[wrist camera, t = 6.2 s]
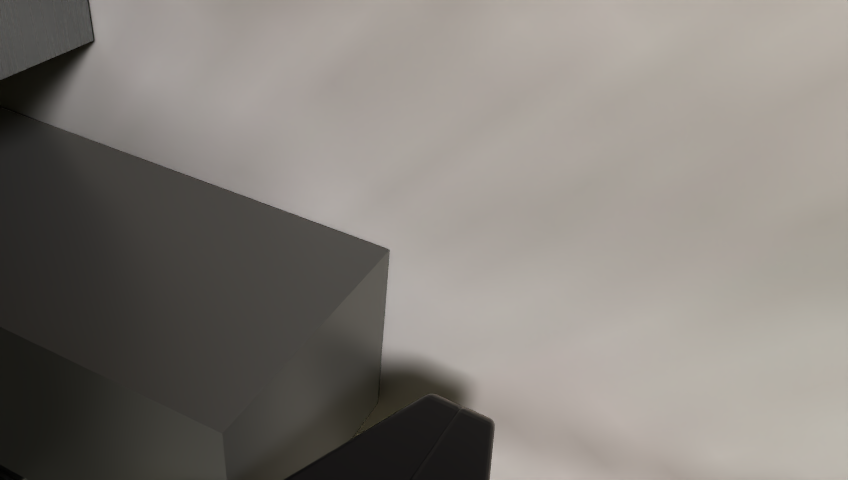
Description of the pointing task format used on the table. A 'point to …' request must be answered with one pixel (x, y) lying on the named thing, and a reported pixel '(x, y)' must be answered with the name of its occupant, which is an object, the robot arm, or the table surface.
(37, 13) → the grey arch block
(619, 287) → the table surface
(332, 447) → the plug
